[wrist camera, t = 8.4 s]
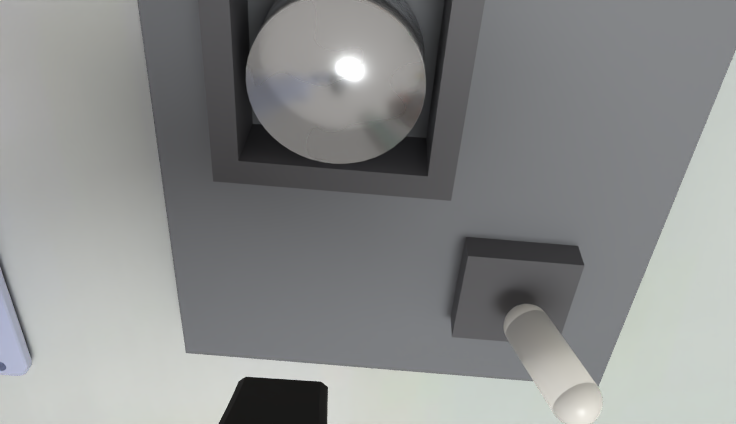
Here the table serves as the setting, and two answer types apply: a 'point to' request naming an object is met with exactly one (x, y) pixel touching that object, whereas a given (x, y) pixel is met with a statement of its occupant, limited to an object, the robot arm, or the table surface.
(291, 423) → the robot arm
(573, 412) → the off-white toggle lever
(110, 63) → the table surface
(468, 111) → the control panel
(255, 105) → the steel push button
